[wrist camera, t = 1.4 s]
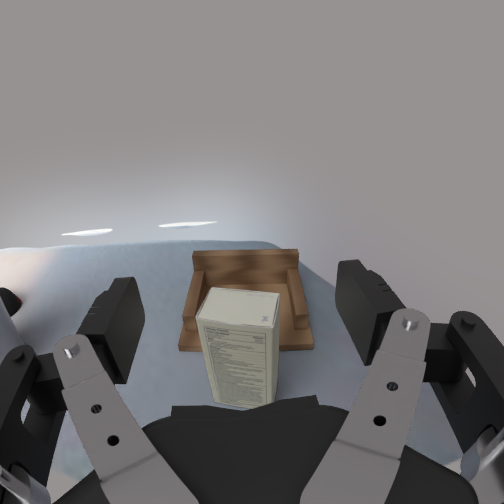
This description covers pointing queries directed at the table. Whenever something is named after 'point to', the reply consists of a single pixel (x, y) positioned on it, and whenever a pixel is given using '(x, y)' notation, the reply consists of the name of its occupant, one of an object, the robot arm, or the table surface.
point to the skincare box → (241, 345)
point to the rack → (253, 279)
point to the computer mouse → (10, 301)
